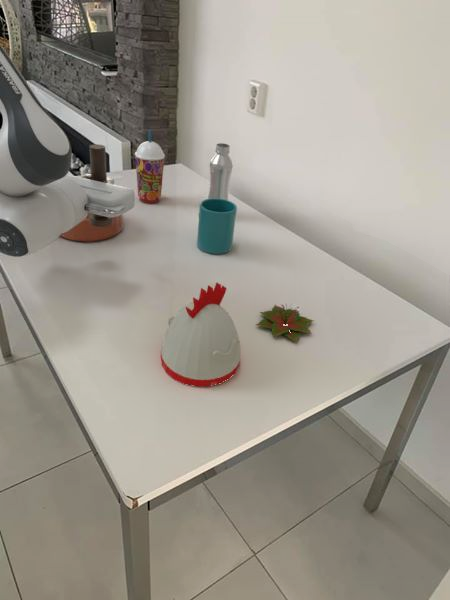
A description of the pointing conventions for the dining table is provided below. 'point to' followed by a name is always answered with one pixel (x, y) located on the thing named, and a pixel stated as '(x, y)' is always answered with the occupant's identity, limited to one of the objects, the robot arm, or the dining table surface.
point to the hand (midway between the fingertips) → (101, 180)
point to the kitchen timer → (201, 342)
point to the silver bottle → (220, 172)
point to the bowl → (93, 230)
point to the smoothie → (149, 171)
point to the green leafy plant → (285, 322)
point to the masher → (98, 175)
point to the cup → (216, 225)
